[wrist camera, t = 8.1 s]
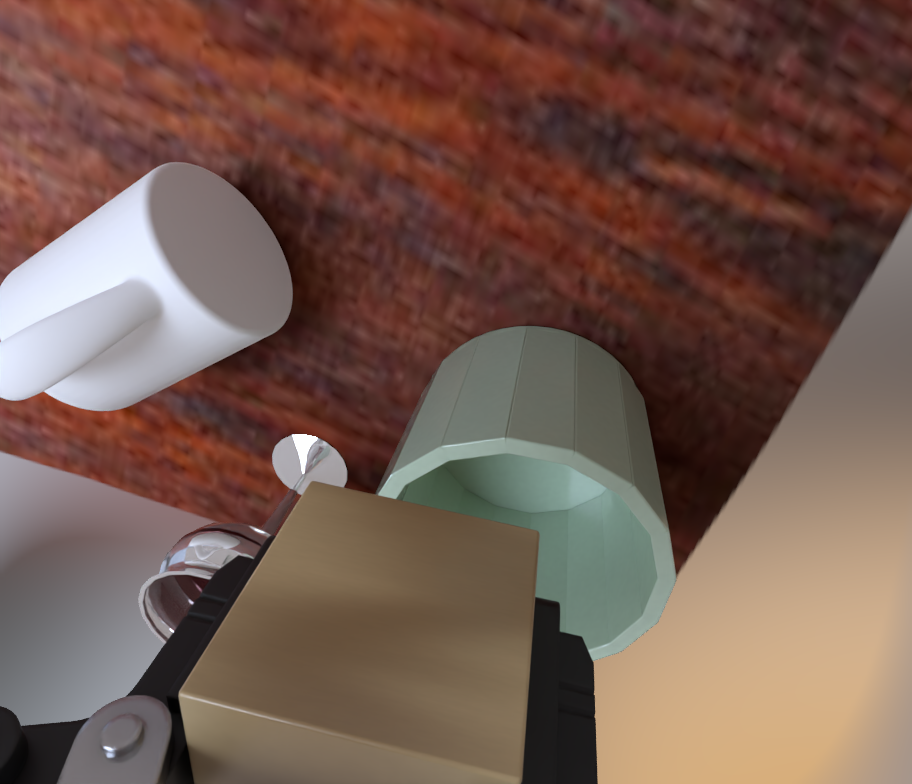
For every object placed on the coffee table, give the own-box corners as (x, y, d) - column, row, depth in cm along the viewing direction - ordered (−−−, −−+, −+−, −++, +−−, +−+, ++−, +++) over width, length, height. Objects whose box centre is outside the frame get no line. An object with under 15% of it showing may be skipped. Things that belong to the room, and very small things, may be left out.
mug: (317, 296, 31) (187, 413, 21) (182, 366, 35) (17, 494, 25) (221, 148, 28) (15, 198, 18) (86, 241, 32) (-147, 327, 22)
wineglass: (367, 513, 38) (289, 681, 28) (270, 504, 39) (161, 662, 29) (354, 425, 35) (260, 578, 25) (248, 418, 36) (117, 561, 26)
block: (541, 529, 11) (522, 782, 7) (499, 676, 13) (469, 929, 9) (310, 478, 11) (175, 693, 8) (309, 629, 14) (205, 854, 10)
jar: (676, 349, 29) (720, 479, 20) (614, 533, 35) (626, 695, 26) (432, 306, 30) (370, 410, 21) (413, 491, 37) (360, 632, 28)
